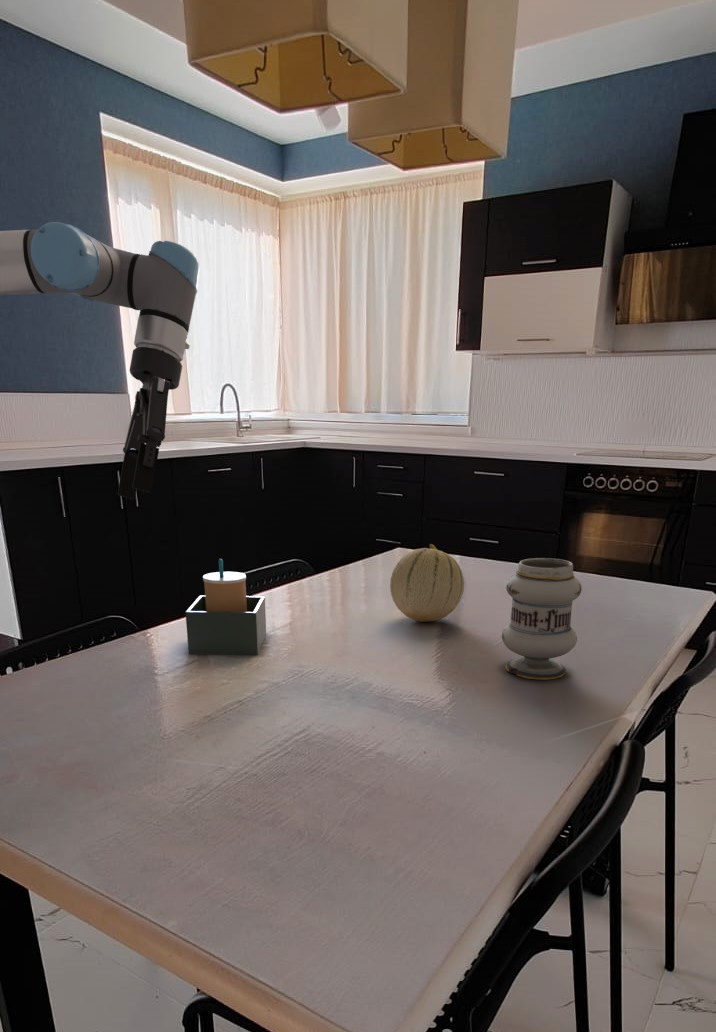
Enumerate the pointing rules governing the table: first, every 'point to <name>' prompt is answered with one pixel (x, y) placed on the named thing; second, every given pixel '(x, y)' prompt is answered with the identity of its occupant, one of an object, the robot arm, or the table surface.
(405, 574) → the cantaloupe
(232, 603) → the drink cup
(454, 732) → the table surface
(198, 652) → the bin
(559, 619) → the apothecary jar
